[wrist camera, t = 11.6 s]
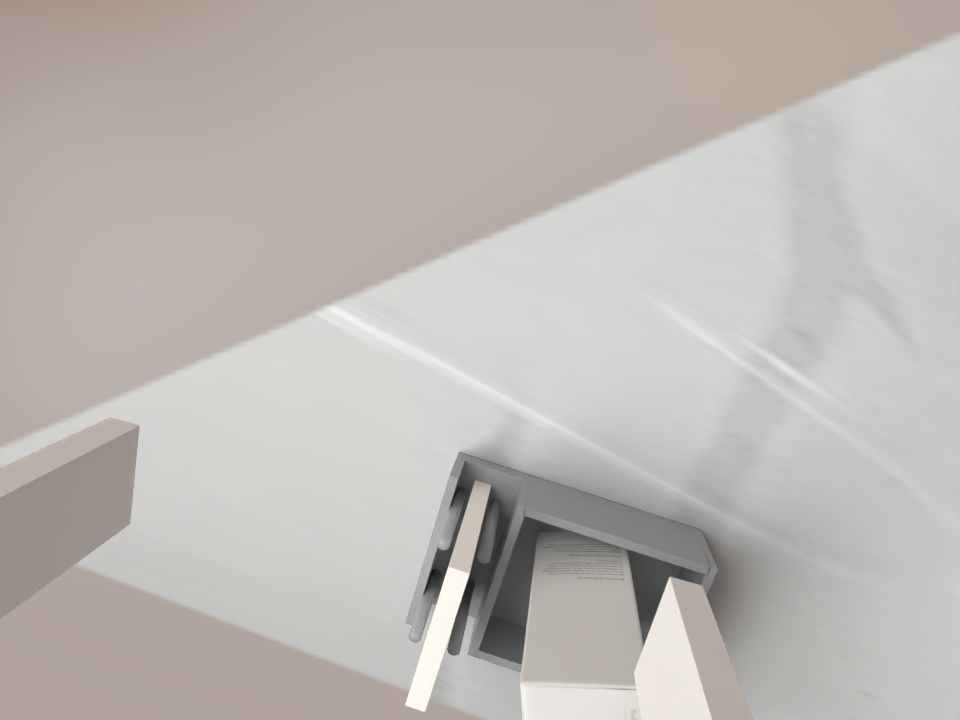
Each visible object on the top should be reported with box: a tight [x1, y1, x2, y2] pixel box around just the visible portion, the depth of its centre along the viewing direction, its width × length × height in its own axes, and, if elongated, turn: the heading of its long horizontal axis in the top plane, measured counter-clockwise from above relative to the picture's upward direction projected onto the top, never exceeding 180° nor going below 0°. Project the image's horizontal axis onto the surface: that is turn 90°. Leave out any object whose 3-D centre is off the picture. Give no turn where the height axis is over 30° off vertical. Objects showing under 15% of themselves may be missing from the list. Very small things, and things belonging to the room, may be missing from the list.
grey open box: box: [405, 452, 718, 712], centre depth 40 cm, size 18×12×12 cm, turn 74°
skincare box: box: [520, 531, 644, 720], centre depth 37 cm, size 8×7×16 cm
